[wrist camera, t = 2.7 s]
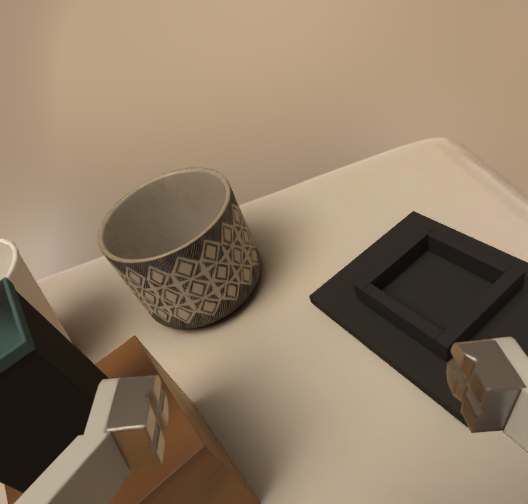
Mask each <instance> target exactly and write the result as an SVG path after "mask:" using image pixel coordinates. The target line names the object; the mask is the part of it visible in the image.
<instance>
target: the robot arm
mask: <svg viewBox="0 0 528 504" xmlns="http://www.w3.org/2000/svg"><path fill="white" fill-rule="evenodd" d="M451 354H452V356H453V358H452V359H451V360H450V361H449V362H448V363H447V368H446V375H447V382H448V385H449V388H450V390H451V392H452V394H453V396H454V397H455V398H457V399H458V400H459V401H461V402H462V407H461V410H460V411H461V413H462V415H463V417H464V419H465V421H466V423H467V425H468V427H469V429H470V431H471V433H476V432H488V431H501V430H504V431H503V432H504V433H505V434H506V435H507V436H509V437H510V438H511V439H512V440H513V441H514V442H516V443H517V444H518V445H519V446H520V447H522V448H523V449H524V450H525V451H526V452H527V453H528V357H527V355H526V354H525V353H524V351H523V350H522V349H521V347H520V346H519V344H518V343H517V342H516V340H515V339H513V338H512V337H502V338H493V339H481V340H472V341H464V342H456V343H454V344H453V345H452V348H451ZM161 383H162V382H161V380H160V377H159V375H148V376H135V377H123V378H112V379H102V381H101V382H100V384H99V385H98V389H97V392H96V395H95V399H94V402H93V405H92V409H91V412H90V415H89V418H88V422H87V425H86V428H85V432H84V435H79V436H77V437H76V438H75V439H74V440H73V441H72V443H71V444H70V445H69V446H68V447H67V448H66V449H65V450H64V451H63V452H62V453H61V454H60V455H59V456H58V457H57V458H56V459H55V461H54V462H53V463H52V464H51V465H50V466H49V467H48V468H47V469H46V470H45V471H44V472H43V473H42V474H41V475H40V476H39V477H38V478H37V480H36V481H35V482H34V483H33V484H32V485H31V486H30V487H29V488H28V489H27V490H26V491H25V492H24V493H23V494H22V495H21V496H20V498H19V499H18V500H17V501H16V502H15V503H14V504H110V502H111V501H112V499H113V498H114V496H115V495H116V493H117V492H118V490H119V489H120V487H121V486H122V484H123V483H124V481H125V480H126V479H127V477H128V476H129V474H130V473H131V471H130V470H134V469H141V468H149V467H156V466H162V463H163V456H164V449H165V440H164V437H163V434H162V433H163V431H164V430H165V429H166V428H167V426H168V417H169V413H168V400H167V396H166V393H165V392H164V391H162V390H161Z"/></svg>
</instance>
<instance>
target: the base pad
mask: <svg viewBox="0 0 528 504" xmlns="http://www.w3.org/2000/svg"><path fill="white" fill-rule="evenodd" d="M309 297H310V300H311V303H313V304H314V305H315V306H316V307H318V308H319V309H320V310H321V311H323V312H324V313H325V314H326V315H328V316H329V317H330V318H331V319H333V320H334V321H335V322H336V323H338V324H339V325H340V326H341V327H343V328H344V329H345V330H346V331H348V332H349V333H350V334H352V335H353V336H354V337H355V338H357V339H358V340H359V341H360V342H362V343H363V344H364V345H365V346H367V347H368V348H369V349H370V350H372V351H373V352H374V353H375V354H377V355H378V356H379V357H380V358H382V359H383V360H384V361H385V362H387V363H388V364H389V365H390V366H392V367H393V368H394V369H396V370H397V371H398V372H399V373H401V374H402V375H403V376H404V377H406V378H407V379H408V380H409V381H411V382H412V383H413V384H414V385H416V386H417V387H418V388H419V389H421V390H422V391H423V392H424V393H426V394H427V395H428V396H429V397H431V398H432V399H433V400H434V401H436V402H437V403H438V404H440V405H441V406H442V407H443V408H445V409H446V410H447V411H448V412H450V413H451V414H452V415H453V416H455V417H456V418H457V419H458V420H460V421H461V422H462V423H463V424H465V425H466V426H467V427H468V425H467V423H466V421H465V419H464V417H463V415H462V413H461V411H460V410H461V407H462V402H461V401H459V400H458V399H457V398H455V397H454V396H453V394H452V392H451V390H450V388H449V385H448V382H447V375H446V368H447V363H448V362H449V361H450V360H451V359H452V358H453V356H452V354H451V348H452V345H453V344H454V343H456V342H464V341H472V340H481V339H493V338H502V337H512V338H513V339H515V340H516V342H517V343H518V344H519V346H520V347H521V349H522V350H523V351H524V353H525V354H526V355H527V357H528V263H527V262H525V261H523V260H520V259H518V258H516V257H514V256H511V255H509V254H507V253H505V252H503V251H500V250H498V249H496V248H494V247H492V246H489V245H487V244H485V243H483V242H481V241H478V240H476V239H474V238H472V237H469V236H467V235H465V234H463V233H461V232H458V231H456V230H454V229H452V228H450V227H447V226H445V225H443V224H441V223H438V222H436V221H434V220H432V219H430V218H427V217H425V216H423V215H421V214H419V213H416V212H414V211H413V212H412V213H410V214H409V215H408V216H407V217H405V218H404V219H403V220H402V221H401V222H399V223H398V224H397V225H396V226H394V227H393V228H392V229H391V230H390V231H388V232H387V233H386V234H385V235H383V236H382V237H381V238H380V239H379V240H377V241H376V242H375V243H374V244H372V245H371V246H370V247H369V248H368V249H366V250H365V251H364V252H363V253H361V254H360V255H359V256H358V257H357V258H355V259H354V260H353V261H352V262H350V263H349V264H348V265H347V266H346V267H344V268H343V269H342V270H341V271H339V272H338V273H337V274H336V275H335V276H333V277H332V278H331V279H330V280H328V281H327V282H326V283H325V284H323V285H322V286H321V287H320V288H319V289H317V290H316V291H315V292H314V293H312V294H311V295H310V296H309Z"/></svg>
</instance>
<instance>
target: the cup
mask: <svg viewBox="0 0 528 504" xmlns="http://www.w3.org/2000/svg"><path fill="white" fill-rule="evenodd" d="M4 277H6V278H8V279H9V280H10V281H11V282H12V283H13V284H14V287H15V290H16V291H17V292H18V293H19V294H20V295H21V296H22V297H24V298H25V299H26V300H27V301H28V302H29V303H30V304H31V305H32V306H33V307H34V308H35V309H36V310H37V311H38V312H39V313H40V314H42V315H43V316H44V317H45V318H46V319H47V320H48V321H49V322H50V323H51V324H52V325H53V326H54V327H55V328H56V329H57V330H58V331H59V332H61V333H62V334H63V335H64V336H65V337H66V338H67V339H68V340H69V341H70V342H71V343H72V341H71V339H70V338H69V336H68V334H67V333H66V331H65V329H64V328H63V326H62V324H61V323H60V321H59V319H58V318H57V316H56V314H55V313H54V311H53V309H52V308H51V306H50V304H49V303H48V301H47V299H46V298H45V296H44V294H43V293H42V291H41V289H40V287H39V286H38V284H37V282H36V281H35V280H34V278H33V276H32V274H31V273H30V271H29V269H28V268H27V266H26V264H25V262H24V261H23V259H22V257H21V256H20V254H19V250H18V248H17V247H16V245H15V244H14V243H13V242H11V241H8V240H6V239H0V280H1V279H3V278H4ZM72 344H73V343H72ZM73 345H74V344H73Z"/></svg>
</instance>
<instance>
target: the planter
mask: <svg viewBox="0 0 528 504" xmlns="http://www.w3.org/2000/svg"><path fill="white" fill-rule="evenodd" d="M98 245H99V248H100V250H101V251H102V253H103V254H104V255H105V257H106V258H107V259H108V261H109V262H110V263H111V265H112V266H113V267H114V268H115V270H116V271H117V272H118V274H119V275H120V276H121V277H122V279H123V280H124V281H125V283H126V284H127V285H128V286H129V288H130V289H131V290H132V292H133V293H134V294H135V296H136V297H137V298H138V299H139V301H140V302H141V303H142V305H143V306H144V307H145V308H146V310H147V311H148V312H149V314H150V315H151V316H152V317H153V318H154V319H155V320H156V321H158V322H159V323H161V324H163V325H165V326H168V327H171V328H177V329H191V328H197V327H202V326H205V325H208V324H211V323H214V322H216V321H218V320H220V319H222V318H224V317H225V316H227V315H229V314H230V313H231V312H233V311H234V310H235V309H237V308H238V307H239V306H240V305H241V304H242V303H243V302H244V301H245V300H246V299H247V298H248V296H249V295H250V294H251V292H252V291H253V289H254V287H255V285H256V283H257V281H258V278H259V275H260V269H261V261H260V256H259V253H258V251H257V248H256V246H255V243H254V241H253V239H252V236H251V234H250V232H249V229H248V227H247V224H246V222H245V220H244V217H243V215H242V213H241V210H240V208H239V206H238V203H237V201H236V199H235V196H234V194H233V191H232V189H231V187H230V184H229V182H228V180H227V179H226V178H225V177H224V176H223V175H222V174H220V173H219V172H217V171H215V170H212V169H208V168H185V169H180V170H175V171H171V172H168V173H165V174H162V175H160V176H157V177H155V178H153V179H151V180H149V181H147V182H145V183H143V184H141V185H140V186H138V187H136V188H135V189H134V190H132V191H131V192H129V193H128V194H126V195H125V196H124V197H123V198H122V199H120V200H119V201H118V202H117V203H116V204H115V205H114V206H113V208H112V209H111V210H110V211H109V212H108V214H107V215H106V217H105V218H104V220H103V222H102V224H101V226H100V229H99V233H98Z"/></svg>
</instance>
